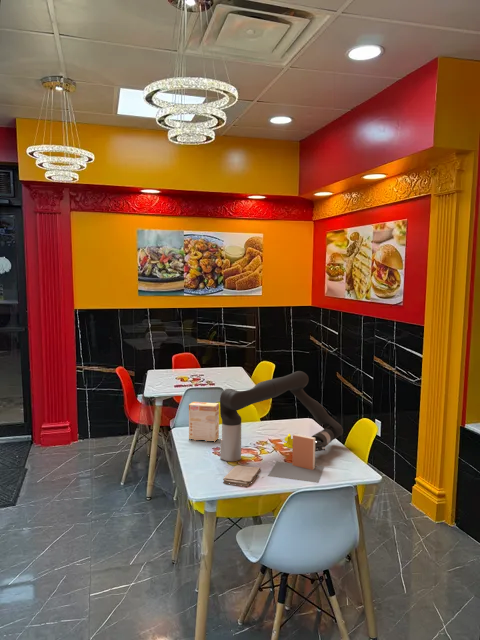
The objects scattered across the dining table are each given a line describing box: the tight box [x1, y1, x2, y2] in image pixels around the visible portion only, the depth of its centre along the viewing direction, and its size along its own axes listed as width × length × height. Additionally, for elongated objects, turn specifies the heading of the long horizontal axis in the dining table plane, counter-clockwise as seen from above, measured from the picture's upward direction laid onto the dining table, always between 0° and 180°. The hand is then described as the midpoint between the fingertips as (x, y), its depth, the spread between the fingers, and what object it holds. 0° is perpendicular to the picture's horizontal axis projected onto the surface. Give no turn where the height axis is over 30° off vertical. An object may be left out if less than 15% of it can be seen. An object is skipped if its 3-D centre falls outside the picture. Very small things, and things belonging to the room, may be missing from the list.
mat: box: [267, 461, 325, 484], centre depth 210 cm, size 22×18×1 cm
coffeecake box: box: [188, 401, 220, 443], centre depth 255 cm, size 15×7×20 cm, turn 76°
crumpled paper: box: [283, 433, 293, 449], centre depth 243 cm, size 6×8×8 cm
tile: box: [291, 433, 316, 470], centre depth 215 cm, size 10×2×14 cm, turn 58°
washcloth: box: [222, 464, 262, 487], centre depth 205 cm, size 12×18×3 cm, turn 162°
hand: (305, 450), depth 216 cm, fingers closed
